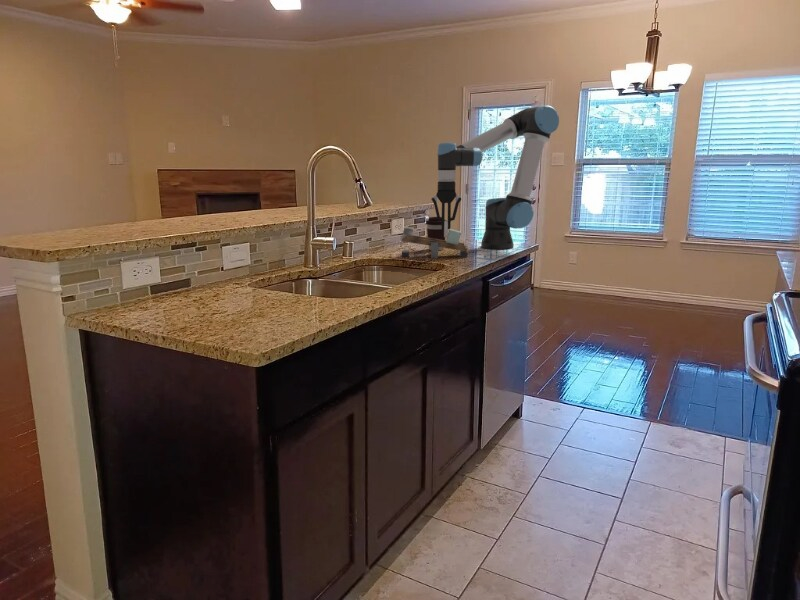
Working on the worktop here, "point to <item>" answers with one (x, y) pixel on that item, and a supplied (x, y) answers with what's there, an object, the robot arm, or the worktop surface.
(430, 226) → the coffee cup
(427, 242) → the beam
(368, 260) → the worktop surface
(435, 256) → the fulcrum
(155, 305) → the worktop surface
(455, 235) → the light blue block
